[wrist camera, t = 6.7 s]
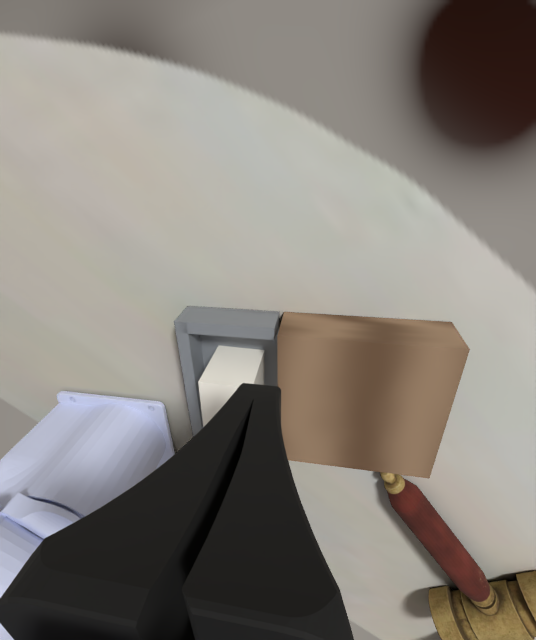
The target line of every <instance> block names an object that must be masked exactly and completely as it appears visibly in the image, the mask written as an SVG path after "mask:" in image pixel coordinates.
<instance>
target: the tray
mask: <svg viewBox="0 0 536 640" xmlns="http://www.w3.org/2000/svg"><path fill="white" fill-rule="evenodd" d="M174 325H175V331H176V337H177V343H178V349H179V355H180V361H181V367H182V373H183V379H184V385H185V391H186V397H187V403H188V409H189V415H190V421H191V427H192V433H193V437H194V436H195V435H196V434H197V433H198V432H199V431H200V430H201V429H202V428H203V420H202V411H201V402H200V393H199V384H198V381H199V380H200V378H201V376H202V374H203V372H204V371H205V369H206V367H207V365H208V363H209V362H210V360H211V358H212V356H213V354H214V353H215V351H216V349H217V347H218V345H219V346H229V347H239V348H249V349H259V350H264V385H270V386H278V365H277V335H278V332H279V312H277V311H261V310H244V309H228V308H212V307H195V306H187V307H186V308H185V309H184V311H183V312H182V313H181V314H180V315H179V316H178V317H177V319H176V320H175V321H174Z"/></svg>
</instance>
